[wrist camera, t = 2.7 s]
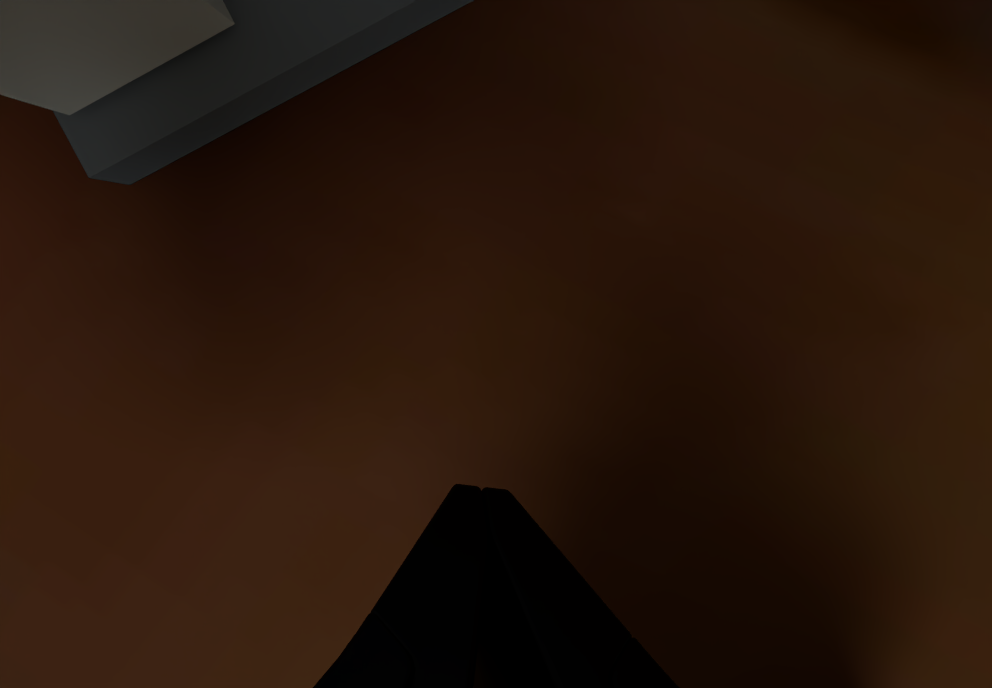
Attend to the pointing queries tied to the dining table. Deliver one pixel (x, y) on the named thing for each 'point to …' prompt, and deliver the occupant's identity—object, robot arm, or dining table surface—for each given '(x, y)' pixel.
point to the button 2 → (94, 45)
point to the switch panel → (235, 78)
